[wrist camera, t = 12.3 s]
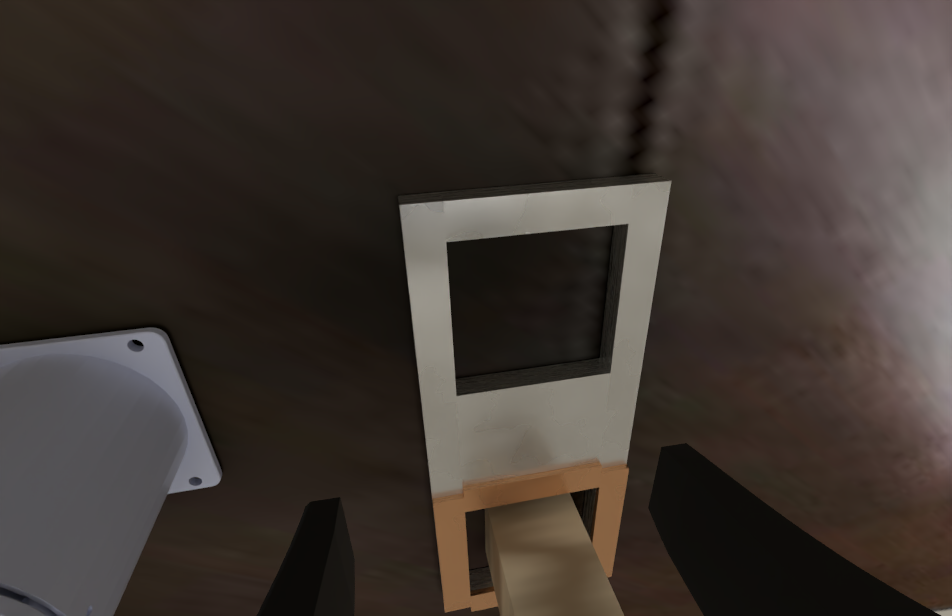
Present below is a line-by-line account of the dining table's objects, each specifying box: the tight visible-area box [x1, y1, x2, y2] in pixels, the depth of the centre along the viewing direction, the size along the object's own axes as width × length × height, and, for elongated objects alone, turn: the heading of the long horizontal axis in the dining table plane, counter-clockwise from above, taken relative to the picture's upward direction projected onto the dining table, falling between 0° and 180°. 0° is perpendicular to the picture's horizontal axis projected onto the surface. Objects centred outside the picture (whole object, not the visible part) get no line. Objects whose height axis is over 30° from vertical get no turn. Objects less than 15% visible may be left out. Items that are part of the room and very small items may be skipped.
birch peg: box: [485, 493, 624, 616], centre depth 24 cm, size 4×4×8 cm
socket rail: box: [398, 173, 671, 612], centre depth 24 cm, size 10×24×2 cm, turn 2°
